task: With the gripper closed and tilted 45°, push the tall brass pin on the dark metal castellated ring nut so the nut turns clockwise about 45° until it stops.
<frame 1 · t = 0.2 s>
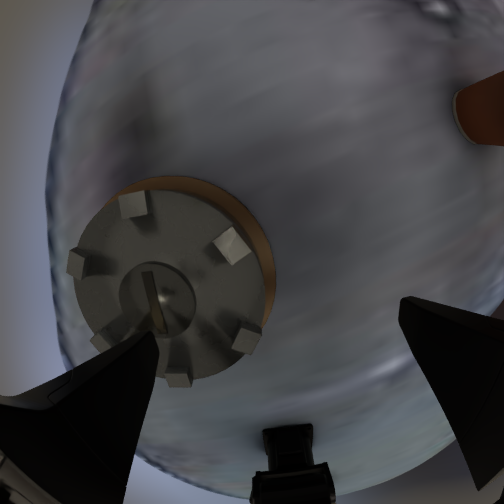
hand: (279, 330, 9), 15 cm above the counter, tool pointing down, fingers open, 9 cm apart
coffee cup: (469, 116, 20), on the counter
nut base: (174, 277, 24), on the counter
ring nut: (140, 324, 16), point 9 cm above the counter, hinge at 0.0°
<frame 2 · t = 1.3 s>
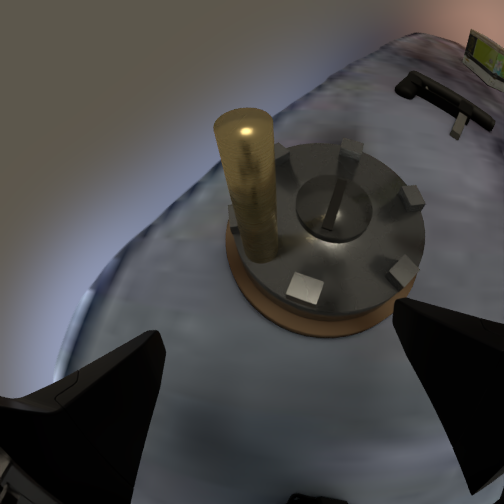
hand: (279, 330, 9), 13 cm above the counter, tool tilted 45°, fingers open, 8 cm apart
tea box: (483, 77, 46), on the counter
door handle: (444, 113, 35), on the counter
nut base: (325, 240, 25), on the counter
ring nut: (341, 176, 17), point 9 cm above the counter, hinge at 0.0°
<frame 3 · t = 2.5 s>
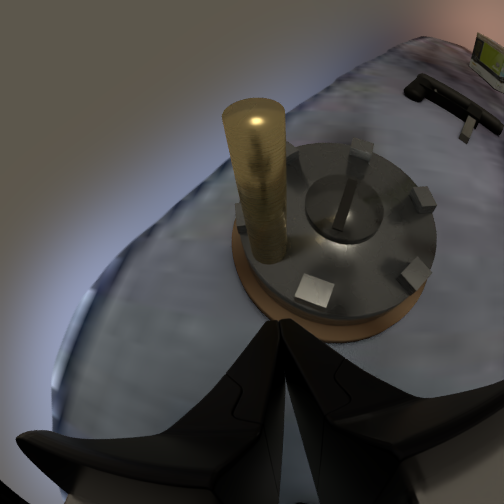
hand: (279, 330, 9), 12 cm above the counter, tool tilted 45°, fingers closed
tea box: (490, 81, 45), on the counter
door handle: (453, 117, 34), on the counter
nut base: (334, 242, 24), on the counter
ring nut: (353, 174, 16), point 9 cm above the counter, hinge at 0.0°
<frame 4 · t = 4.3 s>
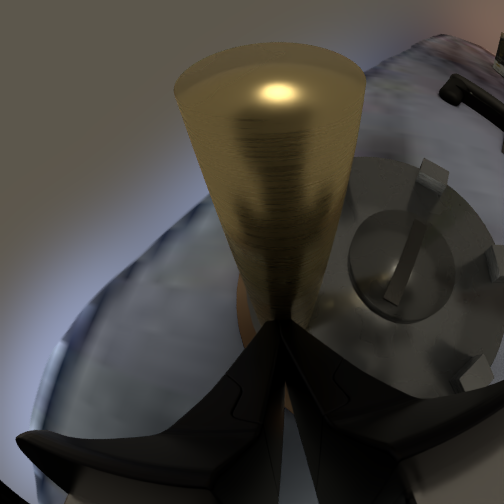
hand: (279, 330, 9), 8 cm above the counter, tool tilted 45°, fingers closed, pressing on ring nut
door handle: (491, 125, 26), on the counter
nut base: (376, 297, 17), on the counter
ring nut: (432, 225, 9), point 9 cm above the counter, hinge at 9.1°, touching gripper
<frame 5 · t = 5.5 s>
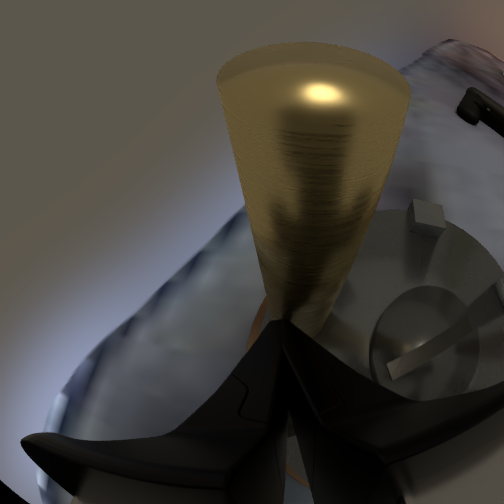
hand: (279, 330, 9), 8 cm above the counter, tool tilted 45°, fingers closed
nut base: (391, 362, 14), on the counter
ring nut: (470, 331, 7), point 9 cm above the counter, hinge at 47.3°, touching gripper
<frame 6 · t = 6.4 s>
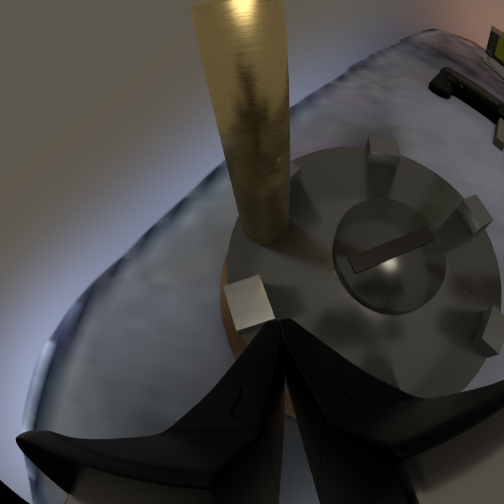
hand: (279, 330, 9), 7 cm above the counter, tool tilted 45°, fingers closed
door handle: (482, 118, 26), on the counter
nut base: (364, 289, 17), on the counter
ring nut: (419, 210, 9), point 9 cm above the counter, hinge at 47.6°
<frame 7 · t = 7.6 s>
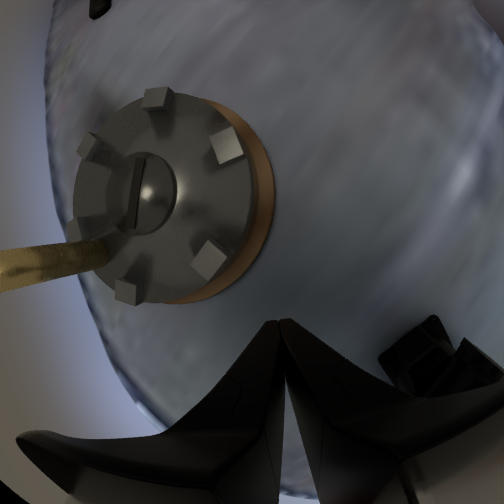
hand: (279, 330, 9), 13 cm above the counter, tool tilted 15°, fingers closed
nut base: (172, 198, 23), on the counter
ring nut: (107, 189, 15), point 9 cm above the counter, hinge at 47.6°
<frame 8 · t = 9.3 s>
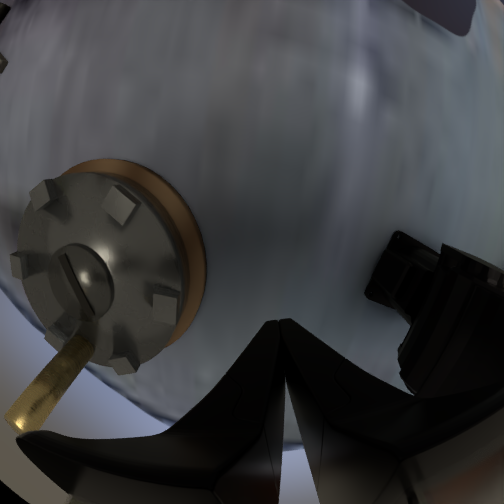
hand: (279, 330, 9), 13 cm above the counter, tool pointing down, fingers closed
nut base: (110, 262, 22), on the counter
ring nut: (52, 303, 14), point 9 cm above the counter, hinge at 47.6°
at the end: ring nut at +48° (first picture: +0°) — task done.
